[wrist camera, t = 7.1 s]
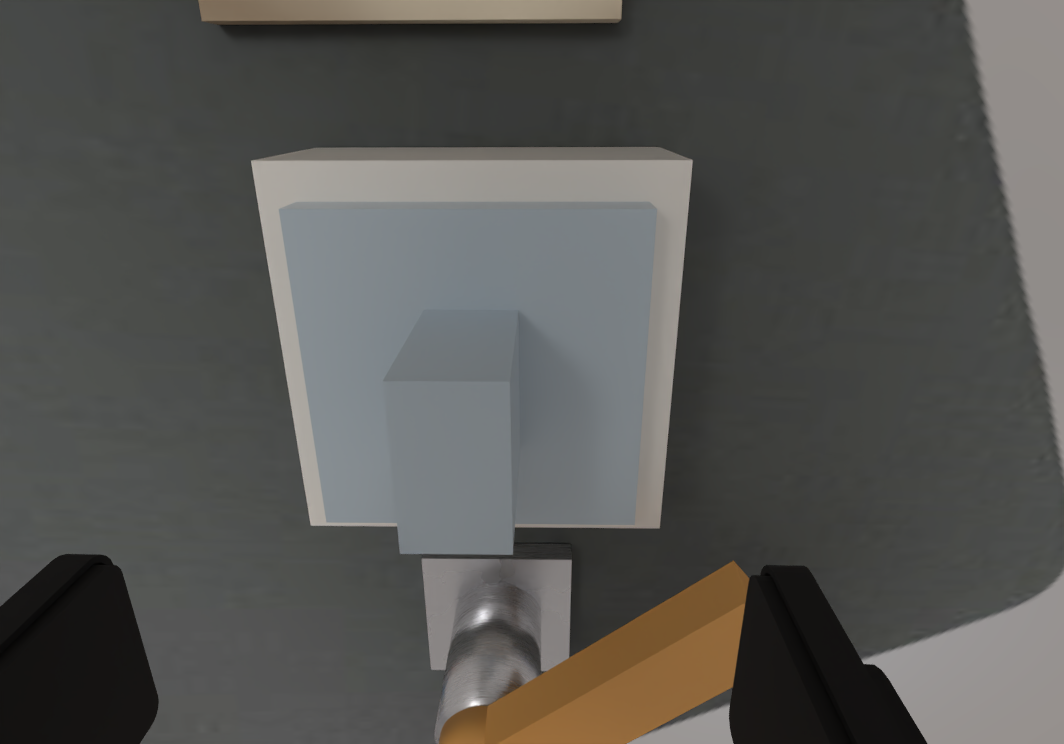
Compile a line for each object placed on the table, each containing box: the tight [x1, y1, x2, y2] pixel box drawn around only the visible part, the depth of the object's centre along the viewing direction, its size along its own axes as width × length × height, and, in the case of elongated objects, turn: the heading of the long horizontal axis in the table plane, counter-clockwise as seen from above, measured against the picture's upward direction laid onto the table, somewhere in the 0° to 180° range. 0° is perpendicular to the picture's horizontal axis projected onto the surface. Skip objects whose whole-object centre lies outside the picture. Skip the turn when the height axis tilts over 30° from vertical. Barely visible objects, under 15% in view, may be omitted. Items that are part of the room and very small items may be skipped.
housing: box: [251, 147, 693, 528], centre depth 20 cm, size 11×11×5 cm
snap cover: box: [279, 202, 657, 555], centre depth 15 cm, size 9×9×6 cm
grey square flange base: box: [422, 543, 572, 744], centre depth 25 cm, size 6×6×6 cm
